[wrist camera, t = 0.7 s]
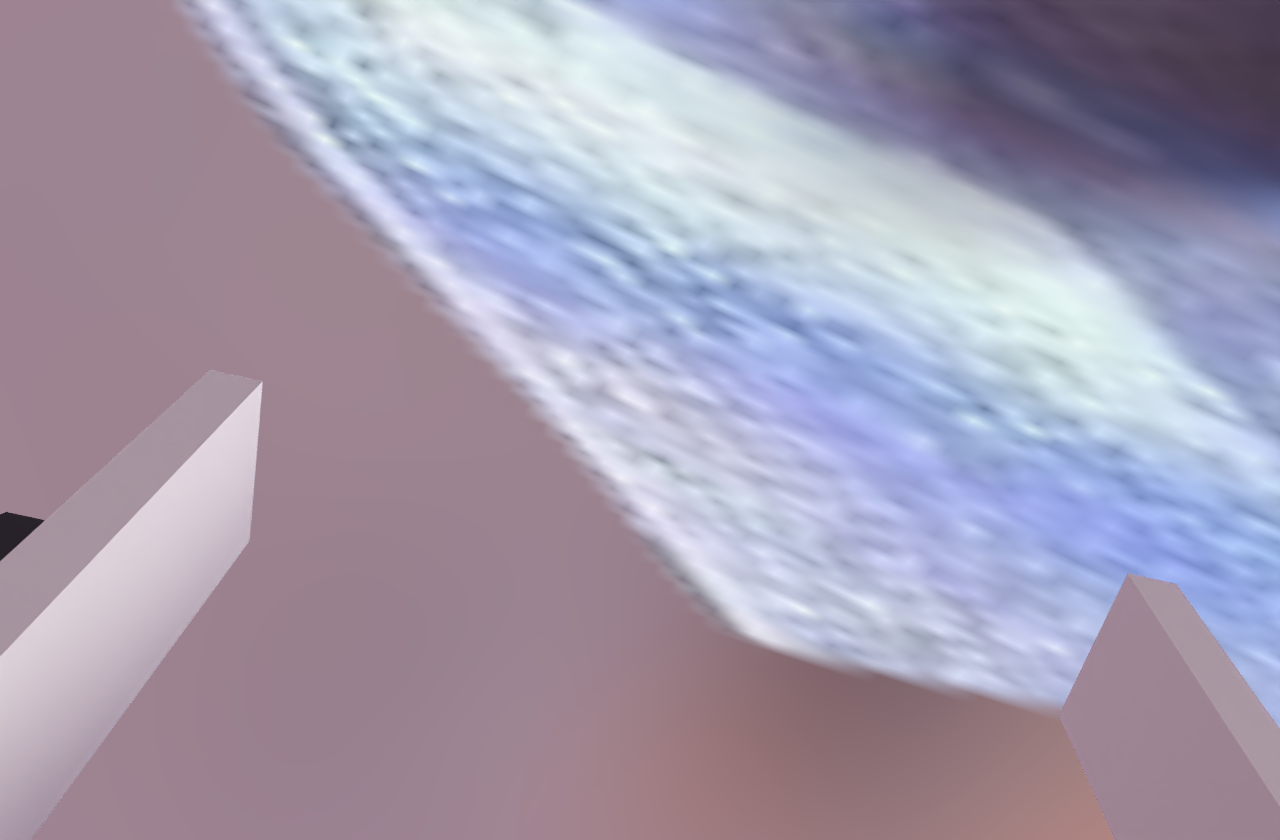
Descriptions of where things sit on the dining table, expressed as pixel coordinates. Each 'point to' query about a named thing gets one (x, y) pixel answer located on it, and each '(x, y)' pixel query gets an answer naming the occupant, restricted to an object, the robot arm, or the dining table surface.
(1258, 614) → the dining table surface
